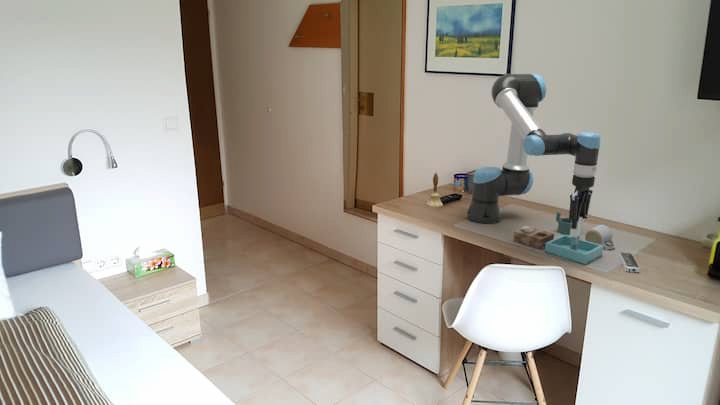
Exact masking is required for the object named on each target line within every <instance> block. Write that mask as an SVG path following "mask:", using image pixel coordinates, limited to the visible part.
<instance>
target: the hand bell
mask: <svg viewBox="0 0 720 405" xmlns="http://www.w3.org/2000/svg"><path fill="white" fill-rule="evenodd" d="M432 182H433V183H432V184H433V192H432V193H430V196H429V199H428V201H427V202H426V204H425V205H426V206H428V207H432V208H439V207H443V206H444V204H443V202H442V201H441V197H440V196H441V195H440V194H439V193H438V183H439V176H438V173H437V172H435V173H434V174H433V178H432Z"/></svg>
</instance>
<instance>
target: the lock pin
mask: <svg viewBox="0 0 720 405" xmlns="http://www.w3.org/2000/svg"><path fill="white" fill-rule="evenodd" d="M579 221H580V223H579V230H578V237H577V238H576V237H572V236H571V237H572V238H571V245H570V249H572V250H578V245H579V239H581V236H580V231H581V224H582V216H579Z"/></svg>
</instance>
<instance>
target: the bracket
mask: <svg viewBox="0 0 720 405" xmlns="http://www.w3.org/2000/svg"><path fill="white" fill-rule="evenodd" d="M561 215H562V212H561V211H556V216H555V217H556V218H555V221H556V222H557V223H558V225H557V232H558V233H559V234H561V235H567V236H570V230H571V223H572V220H571V219H569V217H561Z"/></svg>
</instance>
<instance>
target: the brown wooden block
mask: <svg viewBox="0 0 720 405" xmlns="http://www.w3.org/2000/svg"><path fill="white" fill-rule="evenodd" d="M553 239H555V233H553V232H550V231H546V230H542V229H539V228H535V227H532V226H526V225H525V226H522V227H521V228H520V229H517V230H515V231H514V232H513V239H512V241H514V242H516V243H519V244H523V245H526V246H529V247H533V248H535V249H539V250H541V249H543V248H544V249H545V246H546V242H549V241H551V240H553Z"/></svg>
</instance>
